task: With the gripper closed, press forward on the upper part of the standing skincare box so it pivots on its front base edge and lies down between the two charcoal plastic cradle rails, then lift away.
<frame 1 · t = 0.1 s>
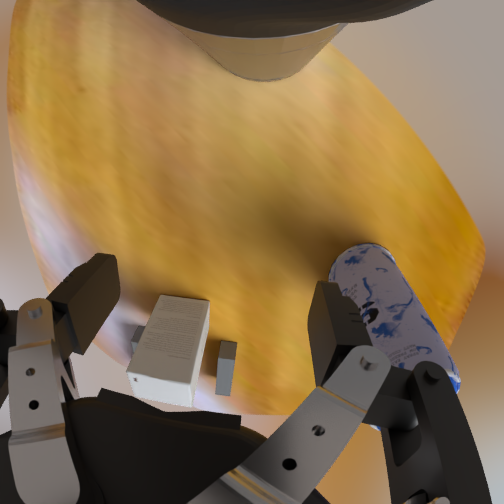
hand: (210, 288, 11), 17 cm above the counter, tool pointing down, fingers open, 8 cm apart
skincare box: (186, 309, 35), on the counter
aerosol can: (362, 274, 31), on the counter
charcoal cradle: (186, 355, 38), on the counter
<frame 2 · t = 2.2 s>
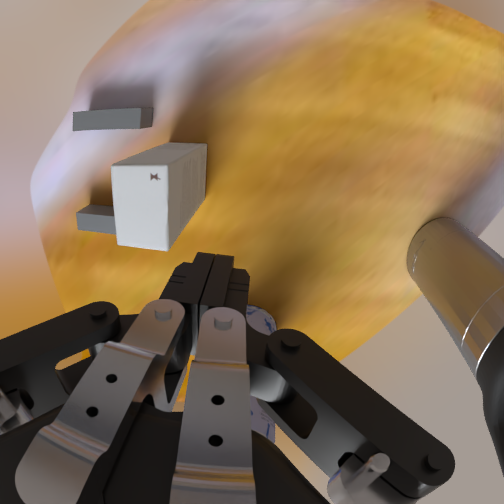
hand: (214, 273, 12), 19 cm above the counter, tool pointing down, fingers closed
skincare box: (186, 171, 29), on the counter
aerosol can: (245, 327, 38), on the counter
charcoal cradle: (117, 167, 29), on the counter
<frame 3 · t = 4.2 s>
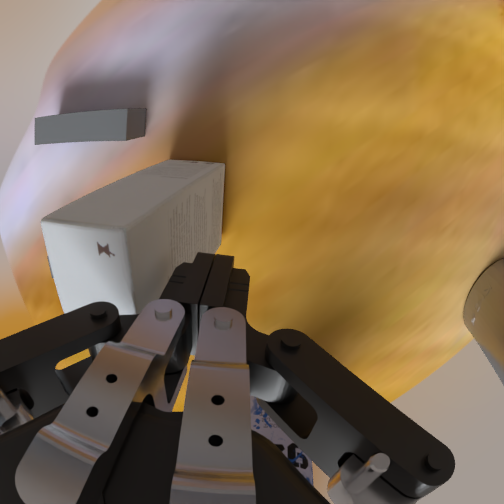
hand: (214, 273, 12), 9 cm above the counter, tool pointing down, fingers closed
skincare box: (195, 201, 21), on the counter, touching gripper
aerosol can: (270, 387, 29), on the counter
charcoal cradle: (98, 194, 21), on the counter
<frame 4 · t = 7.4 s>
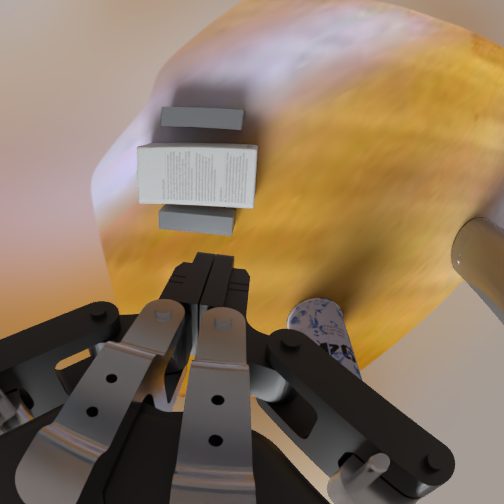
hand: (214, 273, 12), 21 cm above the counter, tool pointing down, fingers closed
skincare box: (258, 176, 30), point 2 cm above the counter
aerosol can: (315, 320, 40), on the counter
charcoal cradle: (202, 166, 31), on the counter
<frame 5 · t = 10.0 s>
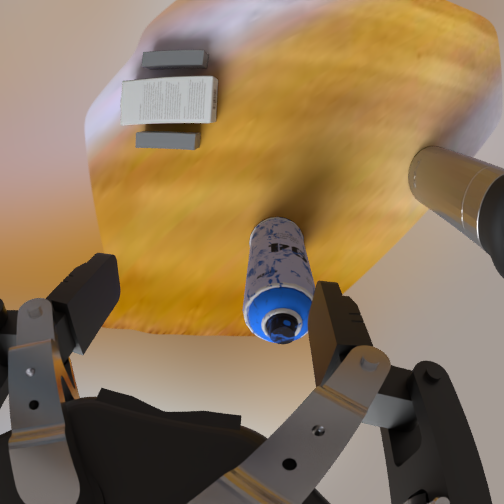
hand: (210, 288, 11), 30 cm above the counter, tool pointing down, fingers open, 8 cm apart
skincare box: (216, 100, 33), point 2 cm above the counter
aerosol can: (276, 242, 43), on the counter
charcoal cradle: (174, 99, 35), on the counter
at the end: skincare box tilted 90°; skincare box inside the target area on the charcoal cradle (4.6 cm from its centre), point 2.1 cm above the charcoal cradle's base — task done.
